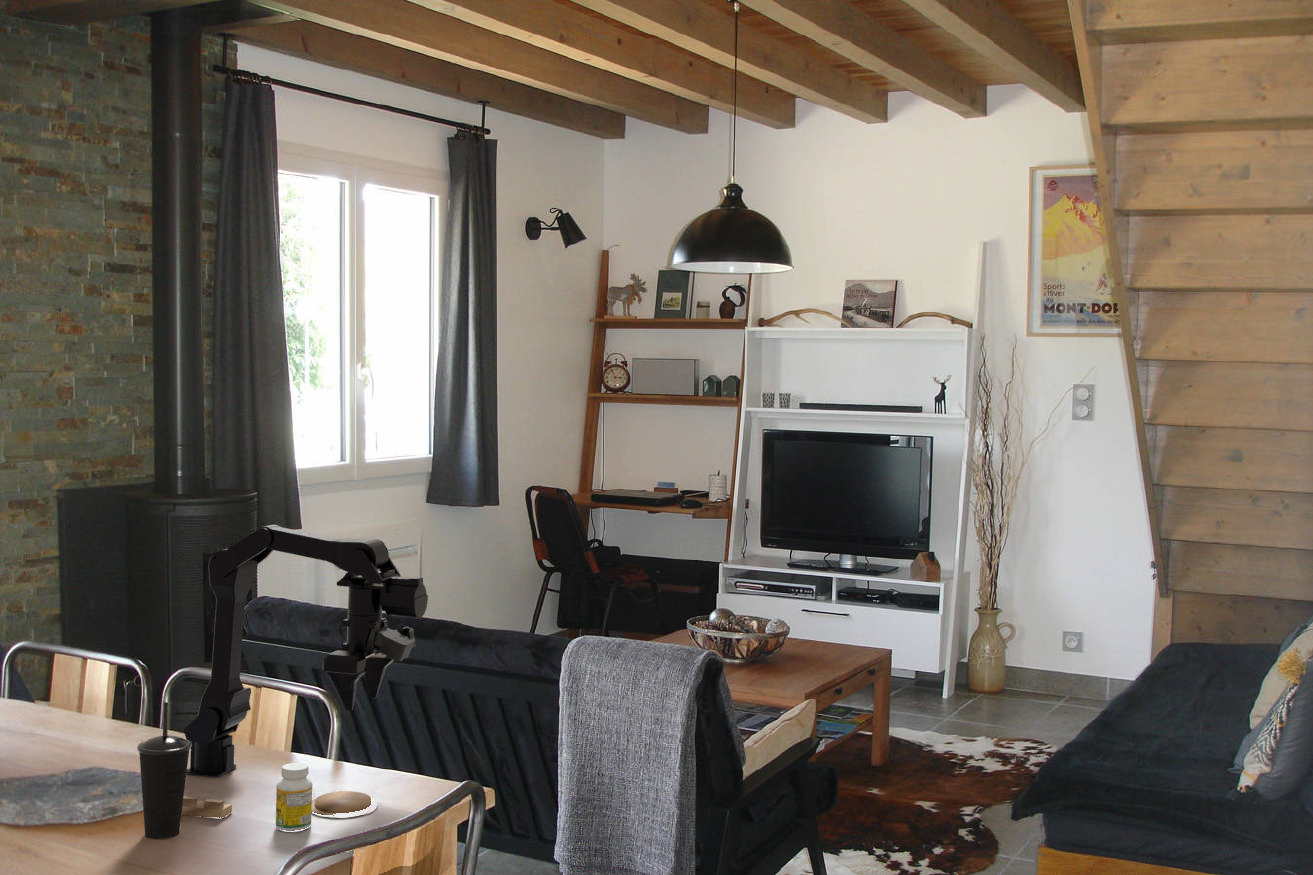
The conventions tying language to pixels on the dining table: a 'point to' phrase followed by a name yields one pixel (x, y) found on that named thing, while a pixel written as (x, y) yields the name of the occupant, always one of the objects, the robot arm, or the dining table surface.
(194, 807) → the notched board
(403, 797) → the dining table surface
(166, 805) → the drinking cup
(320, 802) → the base
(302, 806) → the supplement bottle
